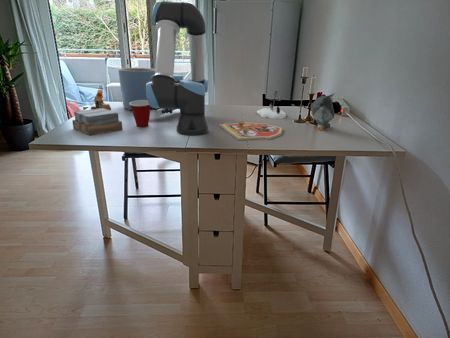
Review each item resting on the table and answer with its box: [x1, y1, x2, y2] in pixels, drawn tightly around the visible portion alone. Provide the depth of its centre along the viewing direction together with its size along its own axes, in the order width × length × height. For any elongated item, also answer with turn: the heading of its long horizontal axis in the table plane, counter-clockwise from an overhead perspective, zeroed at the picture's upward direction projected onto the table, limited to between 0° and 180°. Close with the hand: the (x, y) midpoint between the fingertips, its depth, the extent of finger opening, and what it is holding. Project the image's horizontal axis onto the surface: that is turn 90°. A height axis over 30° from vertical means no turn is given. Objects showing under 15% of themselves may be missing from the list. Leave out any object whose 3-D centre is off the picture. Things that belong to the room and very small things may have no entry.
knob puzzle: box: [218, 120, 283, 141], centre depth 151 cm, size 29×30×4 cm
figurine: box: [256, 89, 287, 120], centre depth 185 cm, size 20×18×16 cm
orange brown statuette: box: [90, 89, 112, 111], centre depth 165 cm, size 8×21×14 cm, turn 39°
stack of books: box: [71, 108, 124, 137], centre depth 142 cm, size 16×16×8 cm
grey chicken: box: [310, 93, 335, 131], centre depth 158 cm, size 14×15×18 cm
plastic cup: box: [129, 100, 151, 128], centre depth 150 cm, size 11×11×12 cm
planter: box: [117, 67, 155, 111], centre depth 191 cm, size 23×23×24 cm
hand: (146, 111), depth 154 cm, fingers open, 13 cm apart
